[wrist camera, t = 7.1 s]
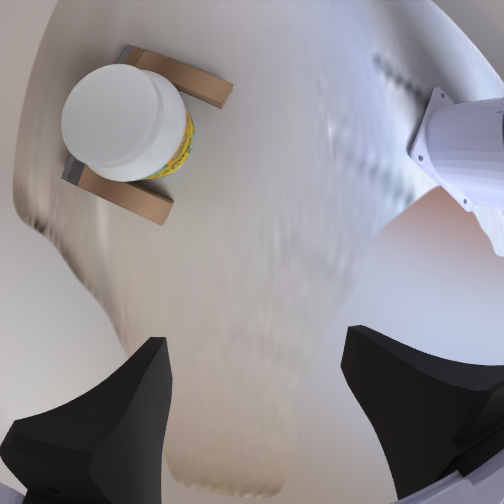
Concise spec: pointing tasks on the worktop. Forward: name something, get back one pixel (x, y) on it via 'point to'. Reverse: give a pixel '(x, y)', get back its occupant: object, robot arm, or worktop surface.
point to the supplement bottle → (127, 124)
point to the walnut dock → (129, 192)
